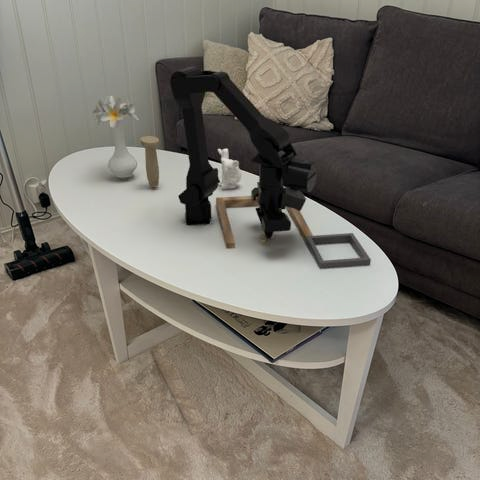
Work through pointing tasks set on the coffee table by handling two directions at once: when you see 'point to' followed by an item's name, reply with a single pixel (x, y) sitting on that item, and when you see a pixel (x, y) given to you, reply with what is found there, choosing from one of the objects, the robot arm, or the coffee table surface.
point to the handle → (151, 159)
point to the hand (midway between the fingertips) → (268, 237)
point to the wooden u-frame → (247, 202)
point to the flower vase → (117, 133)
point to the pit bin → (334, 239)
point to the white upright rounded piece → (229, 171)
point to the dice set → (264, 238)
